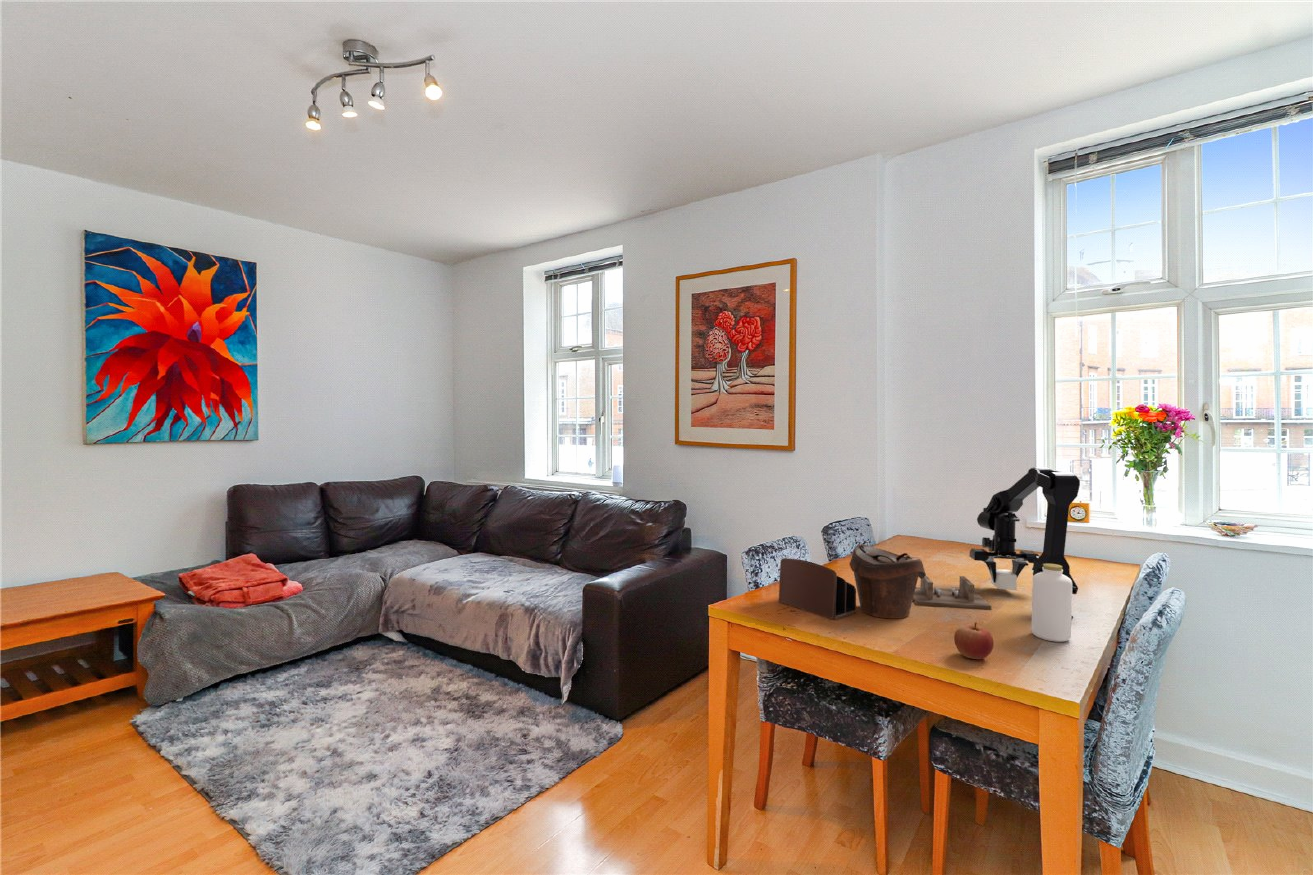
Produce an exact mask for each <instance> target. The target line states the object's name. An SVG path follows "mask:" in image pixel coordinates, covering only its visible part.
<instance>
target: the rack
mask: <svg viewBox="0 0 1313 875" xmlns="http://www.w3.org/2000/svg"><path fill="white" fill-rule="evenodd" d="M912 601H913V602H914V604H916V606H917V605H918V606H928V607H929V606H931V607H948V608H964V609H979V610H992V605H991V604H990V603H989V602H988V601H986V600H985V599H984V598H983V597H982V596H981V595H980V594H979V593H978V592H976V591H975V584H974V583H973V582H972V581H970V580H969V579H968V578H967V577H966V576H964V575H959V589H957V588H955V587H951V588H940V587H938V586H934V581H933V580H931V579H930V578H929V577H928V575H926V576H925V577H924V578H923V579H920V587H919V586H918V587H917V586H916V588H915V592H914V596H913V600H912Z"/></svg>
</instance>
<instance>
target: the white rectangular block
mask: <svg viewBox="0 0 1313 875" xmlns="http://www.w3.org/2000/svg"><path fill="white" fill-rule="evenodd" d="M1017 580H1018V578H1017V575H1015V574H1014V573H1012V570H1009V569H999V568H996V582H995V583H994V582H993V580H992V577H991V576H990V583H991V585H993V586H994V587H996V588H997V589H998V590H1008V591H1009V590H1010V591H1017V589H1018V588H1017V587H1018V586H1017V585H1018V583H1017Z"/></svg>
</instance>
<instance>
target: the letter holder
mask: <svg viewBox="0 0 1313 875" xmlns="http://www.w3.org/2000/svg"><path fill="white" fill-rule="evenodd" d="M778 586H779V588H778V603H780V604H783V605H787V606H789V607H793V608H796V609H799V610H801V611H805V612H808V613H811V614H814V615H817V616H820V617H823V618H826V619H829V620H833V621H836V620H839V619H842V618H845V617H849V616H851V615H855V614H857V587H855V586H856V585H853V583H850V582H847V581H846V580H845V579H844V578H842V577H841V576H838V575H837V572H836V571H835V570H834V569H831V568H828V566H827V567H826V566H824V565H821V564H818V563H815V562H812V561H809V560H804V559H798V558H789V557H788V558H787V557H785V558H784V557H783V558H781V560H780V565H779V585H778Z"/></svg>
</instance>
